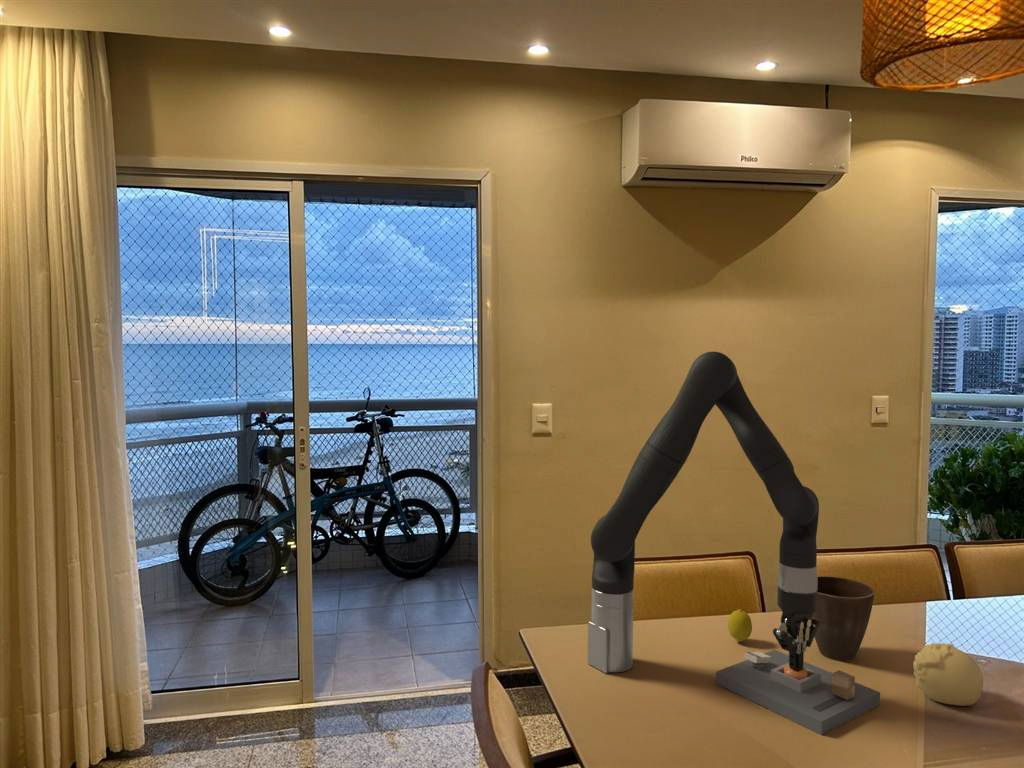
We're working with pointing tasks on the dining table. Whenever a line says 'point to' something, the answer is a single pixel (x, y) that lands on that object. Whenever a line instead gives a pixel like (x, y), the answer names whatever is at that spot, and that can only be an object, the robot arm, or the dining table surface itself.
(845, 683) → the slide paddle
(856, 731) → the dining table surface
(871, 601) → the plant pot
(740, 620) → the lemon
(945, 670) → the sculpture
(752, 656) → the rocker switch
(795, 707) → the control panel
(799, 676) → the push button
